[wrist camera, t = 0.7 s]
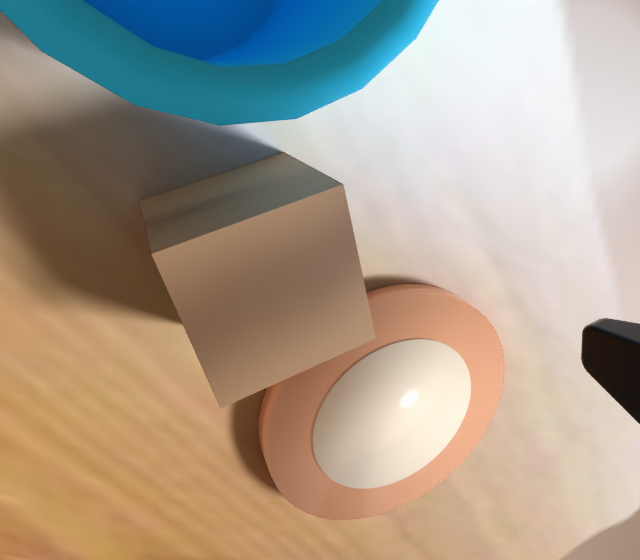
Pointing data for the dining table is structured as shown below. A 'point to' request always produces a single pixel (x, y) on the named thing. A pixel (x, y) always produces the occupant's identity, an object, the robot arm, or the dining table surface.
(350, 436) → the terracotta dish
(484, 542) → the dining table surface
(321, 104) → the mug
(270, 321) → the walnut block
